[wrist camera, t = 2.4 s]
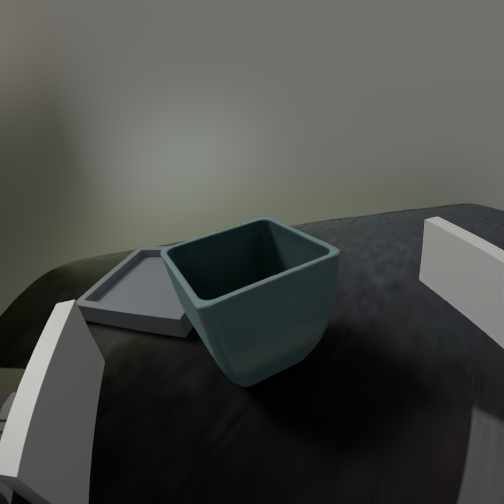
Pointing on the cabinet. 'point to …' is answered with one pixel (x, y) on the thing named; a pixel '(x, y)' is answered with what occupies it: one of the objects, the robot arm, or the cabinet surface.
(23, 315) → the cabinet surface
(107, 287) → the plant tray
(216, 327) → the flower pot
